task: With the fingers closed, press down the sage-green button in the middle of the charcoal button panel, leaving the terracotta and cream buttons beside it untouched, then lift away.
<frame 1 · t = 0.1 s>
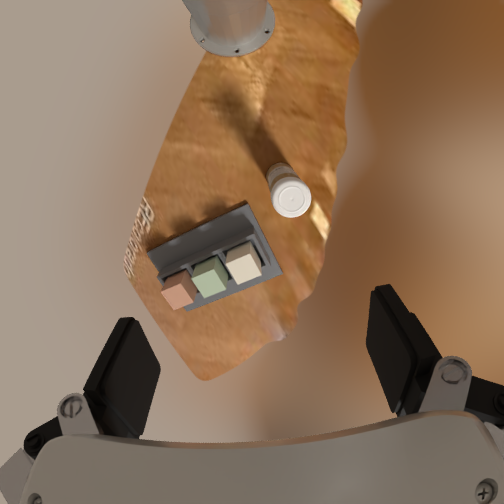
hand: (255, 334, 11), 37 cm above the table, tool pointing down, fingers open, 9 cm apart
button panel: (214, 262, 51), on the table
sprinkles bottle: (280, 175, 45), on the table
green button: (210, 276, 47), point 5 cm above the table, slide at 0.0 cm
cream button: (244, 262, 46), point 5 cm above the table, slide at 0.0 cm
terracotta button: (179, 289, 48), point 5 cm above the table, slide at 0.0 cm
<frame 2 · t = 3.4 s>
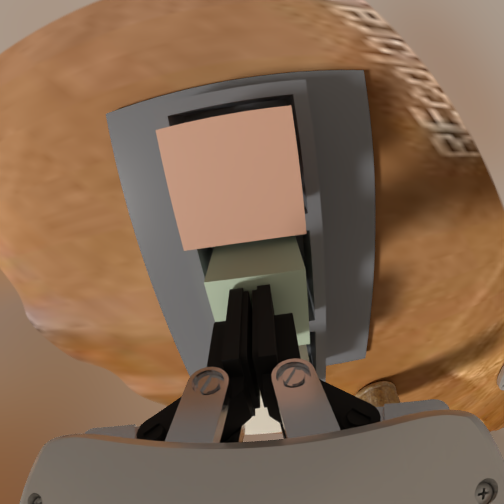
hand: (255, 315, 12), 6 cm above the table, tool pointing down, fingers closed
button panel: (259, 254, 18), on the table
sprinkles bottle: (373, 392, 24), on the table
green button: (260, 287, 14), point 4 cm above the table, slide at 1.3 cm, touching gripper
cream button: (275, 384, 16), point 5 cm above the table, slide at 0.0 cm
terracotta button: (237, 168, 11), point 5 cm above the table, slide at 0.0 cm
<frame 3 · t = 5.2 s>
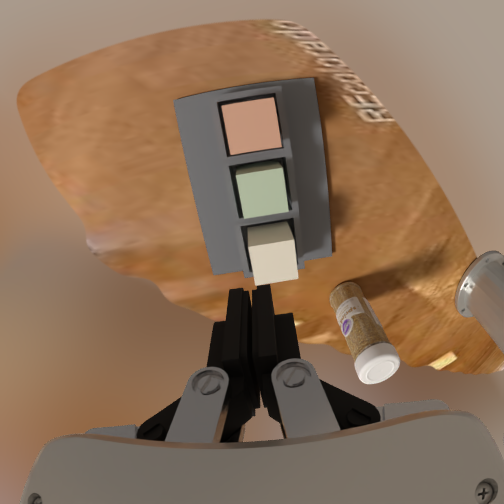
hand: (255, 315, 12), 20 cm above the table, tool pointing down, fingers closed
button panel: (259, 179, 30), on the table
sprinkles bottle: (344, 294, 37), on the table
green button: (261, 187, 27), point 3 cm above the table, slide at 1.6 cm
cream button: (271, 252, 28), point 5 cm above the table, slide at 0.0 cm
terracotta button: (251, 125, 23), point 5 cm above the table, slide at 0.0 cm
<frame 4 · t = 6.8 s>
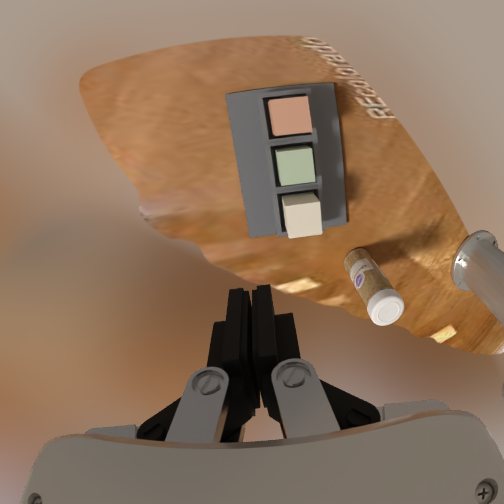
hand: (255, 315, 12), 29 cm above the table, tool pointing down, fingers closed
button panel: (290, 160, 37), on the table
sprinkles bottle: (356, 260, 44), on the table
green button: (294, 164, 34), point 3 cm above the table, slide at 1.6 cm
cream button: (301, 214, 35), point 5 cm above the table, slide at 0.0 cm
terracotta button: (289, 115, 30), point 5 cm above the table, slide at 0.0 cm
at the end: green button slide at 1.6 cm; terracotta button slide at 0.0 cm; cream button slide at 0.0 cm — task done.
